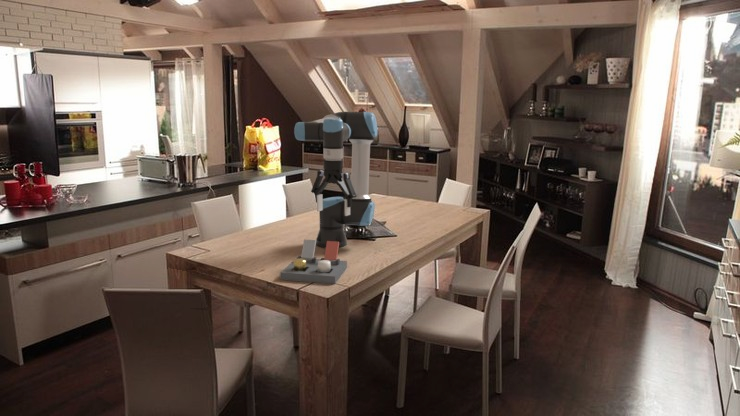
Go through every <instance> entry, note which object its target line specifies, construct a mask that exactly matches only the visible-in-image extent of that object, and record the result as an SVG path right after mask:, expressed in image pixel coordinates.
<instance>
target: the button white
mask: <svg viewBox="0 0 740 416" xmlns="http://www.w3.org/2000/svg"><path fill="white" fill-rule="evenodd" d="M318 271H319V272H323V273H325V272H330V271H331V262H330V261H328V260H321V261H318Z"/></svg>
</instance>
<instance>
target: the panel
mask: <svg viewBox="0 0 740 416" xmlns="http://www.w3.org/2000/svg"><path fill="white" fill-rule="evenodd" d="M299 258H301V255H298V257H295V259H299ZM321 260H324V257H321V258H317V257H316V256H314V258H313V262H306V270H302V271H297V270H294V260H292V261H291V262H290V263H288V265H287V266H286V267H285V268H284V269H282V270H281V271H280V281H294V282H306V283H307V282H308V283H315V284H316V283H319V284H333V285H335V284H337V282H339V279H340V278H341V277H342V276H343V274H344V273H345V271H346V270H347V268H348V260H340V258H337V260H336V264H333V263H331V271H330V272H325V273H323V272H319V271H318V261H321Z"/></svg>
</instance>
